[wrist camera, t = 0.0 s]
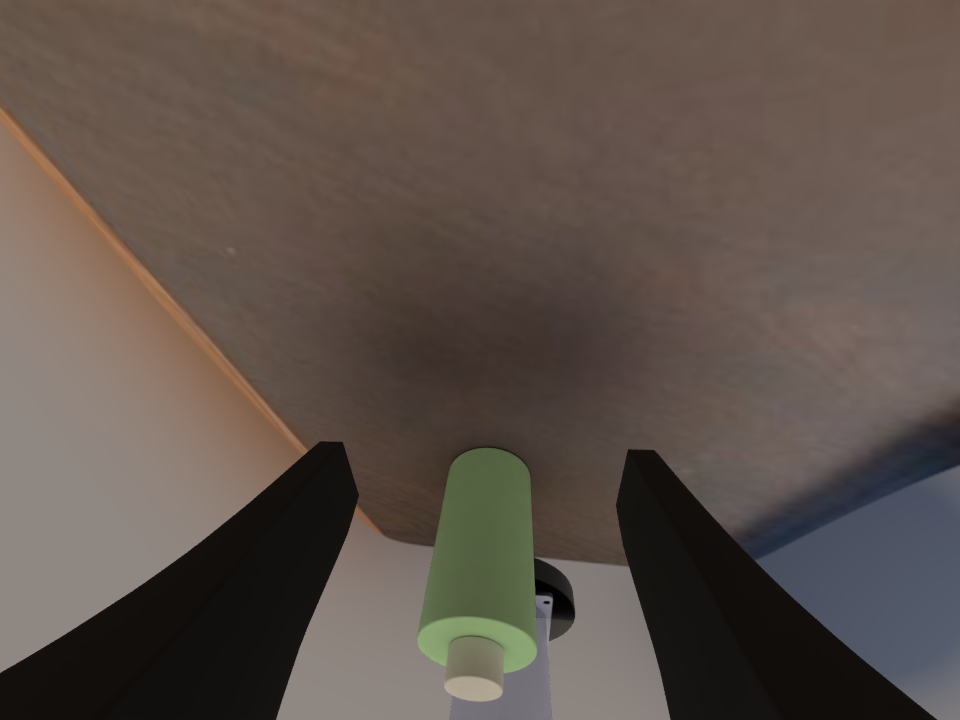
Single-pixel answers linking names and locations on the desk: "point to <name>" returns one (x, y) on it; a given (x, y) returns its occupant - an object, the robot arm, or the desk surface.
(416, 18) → the desk surface
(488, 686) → the soap bottle
